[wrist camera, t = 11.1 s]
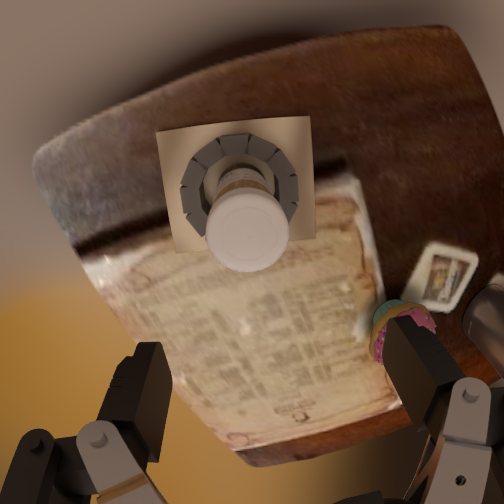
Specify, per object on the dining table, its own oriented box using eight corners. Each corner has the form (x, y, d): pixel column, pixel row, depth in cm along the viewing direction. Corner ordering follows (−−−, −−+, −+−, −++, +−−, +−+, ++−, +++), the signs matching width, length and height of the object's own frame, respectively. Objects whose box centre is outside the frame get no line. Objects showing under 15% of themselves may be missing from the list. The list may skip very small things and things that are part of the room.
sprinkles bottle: (234, 218, 31) (234, 289, 18) (207, 178, 29) (187, 224, 17) (276, 193, 30) (305, 248, 17) (250, 151, 28) (262, 177, 16)
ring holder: (306, 116, 28) (319, 115, 24) (313, 234, 33) (324, 252, 29) (159, 131, 28) (145, 134, 24) (177, 248, 33) (169, 268, 28)
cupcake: (427, 292, 37) (477, 347, 26) (399, 344, 40) (436, 405, 29) (374, 281, 36) (421, 344, 25) (347, 338, 39) (379, 408, 28)
